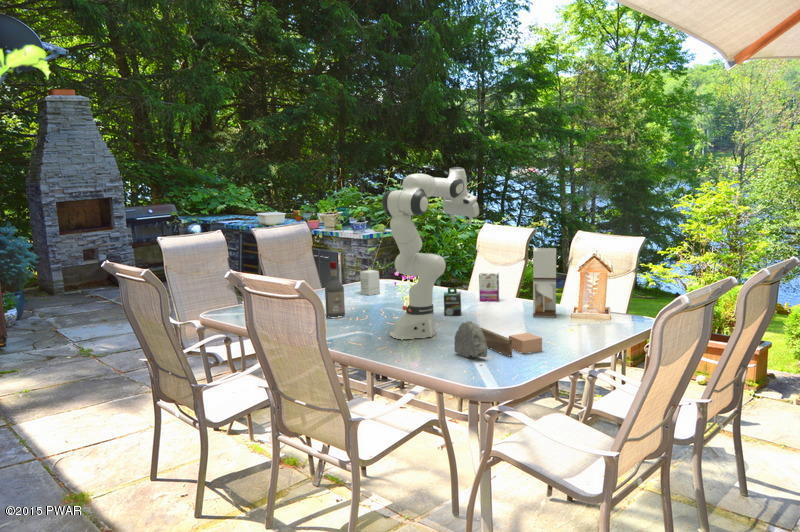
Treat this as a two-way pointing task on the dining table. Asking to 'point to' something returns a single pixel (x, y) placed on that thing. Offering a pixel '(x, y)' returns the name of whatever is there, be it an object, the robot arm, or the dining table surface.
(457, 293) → the chalk box
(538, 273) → the display case
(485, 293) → the candy bar box
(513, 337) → the block
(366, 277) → the supplement box
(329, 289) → the liquor
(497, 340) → the board
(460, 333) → the decorative rock
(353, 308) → the dining table surface
